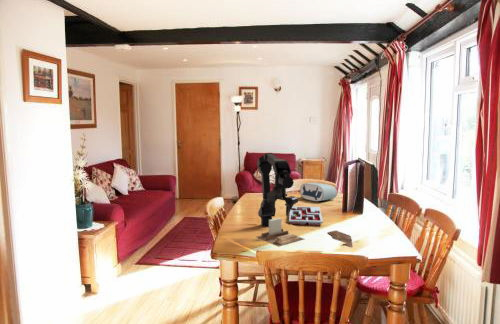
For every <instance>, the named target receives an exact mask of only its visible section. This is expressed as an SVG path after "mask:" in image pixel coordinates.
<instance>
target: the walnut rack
mask: <svg viewBox="0 0 500 324" xmlns="http://www.w3.org/2000/svg"><path fill="white" fill-rule="evenodd" d="M288 234H291V233H289V230H284V229H283V228H281V232H279V233H275V234H271V235H269V231H266V232H263V233H262V232H261V235H259V236H256V238H257V239H259V240H262V241H263V242H266V243H269V244H270V245H274V246H276V247H278V248H279V247H282V246H286V245H289V244H293V243H297V242H300V241H303V240H305V238H304V237H300V236H297V237H300V240H297V241H293V242H290V243H286V244H283V245H281V244H279V243H276V242H275V240H276V239H277V237H280V236H284V235H288Z"/></svg>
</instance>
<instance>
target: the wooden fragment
mask: <svg viewBox="0 0 500 324" xmlns="http://www.w3.org/2000/svg"><path fill="white" fill-rule="evenodd" d="M327 234H328V235H330V237H331V239H333V240H335V241H338V242H342V245H344V246H347V247H348V248H353V242H352V236H351V235H350V234H346V233H345V232H341V231H339V230H337V229H335V230H331V231H328V232H327Z"/></svg>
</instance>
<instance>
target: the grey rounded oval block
mask: <svg viewBox="0 0 500 324" xmlns="http://www.w3.org/2000/svg"><path fill="white" fill-rule="evenodd" d="M299 194H300V197H302V198H303V199H305V200H306V201H312V202H321V201H322V202H323V201H329V200H333V199H335V198H336V197H337V196H338V191H337V189H336V187H335V186H333V185H332V184H331V185H330V184H326V183H320V182H310V183H309V182H308V183H306V182H305V183H303V184H301V186H300V188H299Z"/></svg>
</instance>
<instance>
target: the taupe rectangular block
mask: <svg viewBox="0 0 500 324" xmlns="http://www.w3.org/2000/svg"><path fill="white" fill-rule="evenodd" d="M281 229H282V218H281V217H276V218H272V219H271V220H269V227H268V232H269V235H271V234H275V233H279V232H281Z"/></svg>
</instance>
